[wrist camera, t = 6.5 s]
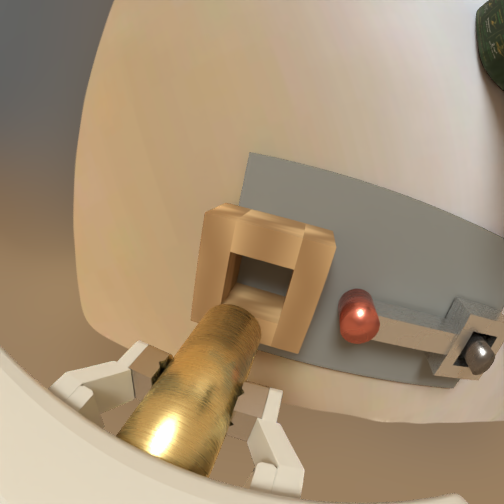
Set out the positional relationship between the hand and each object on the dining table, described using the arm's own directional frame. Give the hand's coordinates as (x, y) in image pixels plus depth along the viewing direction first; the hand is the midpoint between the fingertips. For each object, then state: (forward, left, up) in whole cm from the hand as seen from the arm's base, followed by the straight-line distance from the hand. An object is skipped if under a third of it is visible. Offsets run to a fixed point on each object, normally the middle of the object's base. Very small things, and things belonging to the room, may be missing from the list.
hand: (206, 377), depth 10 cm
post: (-19, +1, -12) cm, 23 cm away
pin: (0, 0, -4) cm, 4 cm away
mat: (-10, 0, -13) cm, 16 cm away
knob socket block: (-14, +1, -12) cm, 18 cm away
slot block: (0, 0, -12) cm, 12 cm away
